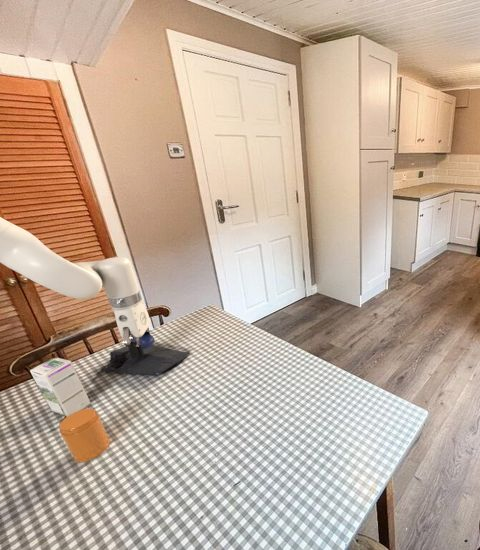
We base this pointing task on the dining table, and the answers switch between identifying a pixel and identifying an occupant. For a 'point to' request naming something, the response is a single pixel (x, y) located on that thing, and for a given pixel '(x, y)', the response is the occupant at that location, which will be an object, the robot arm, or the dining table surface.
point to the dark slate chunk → (144, 360)
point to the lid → (145, 341)
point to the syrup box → (60, 386)
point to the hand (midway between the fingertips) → (142, 349)
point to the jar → (84, 435)
